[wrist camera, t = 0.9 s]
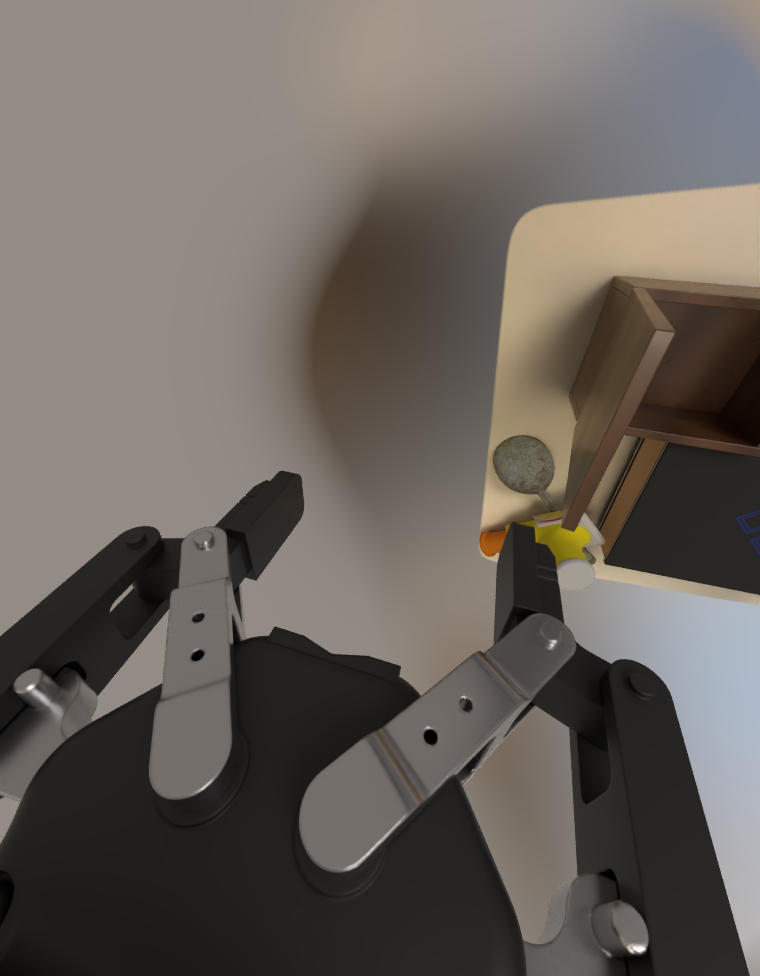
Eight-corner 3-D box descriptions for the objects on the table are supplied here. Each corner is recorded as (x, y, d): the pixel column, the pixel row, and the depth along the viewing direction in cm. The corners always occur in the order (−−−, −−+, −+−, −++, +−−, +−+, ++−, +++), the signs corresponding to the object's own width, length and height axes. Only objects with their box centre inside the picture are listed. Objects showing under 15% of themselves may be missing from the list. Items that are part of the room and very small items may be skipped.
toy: (579, 568, 37) (584, 495, 42) (463, 578, 47) (480, 519, 53) (604, 597, 38) (606, 524, 44) (487, 600, 49) (501, 541, 55)
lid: (677, 331, 15) (655, 328, 15) (574, 532, 22) (560, 528, 22) (645, 288, 26) (632, 287, 27) (583, 430, 33) (574, 428, 34)
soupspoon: (533, 422, 44) (484, 448, 47) (535, 433, 41) (483, 460, 44) (612, 550, 50) (563, 565, 53) (619, 567, 47) (567, 582, 50)
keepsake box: (806, 291, 30) (880, 308, 24) (720, 419, 37) (761, 457, 31) (614, 275, 33) (637, 287, 27) (568, 396, 40) (578, 427, 34)
